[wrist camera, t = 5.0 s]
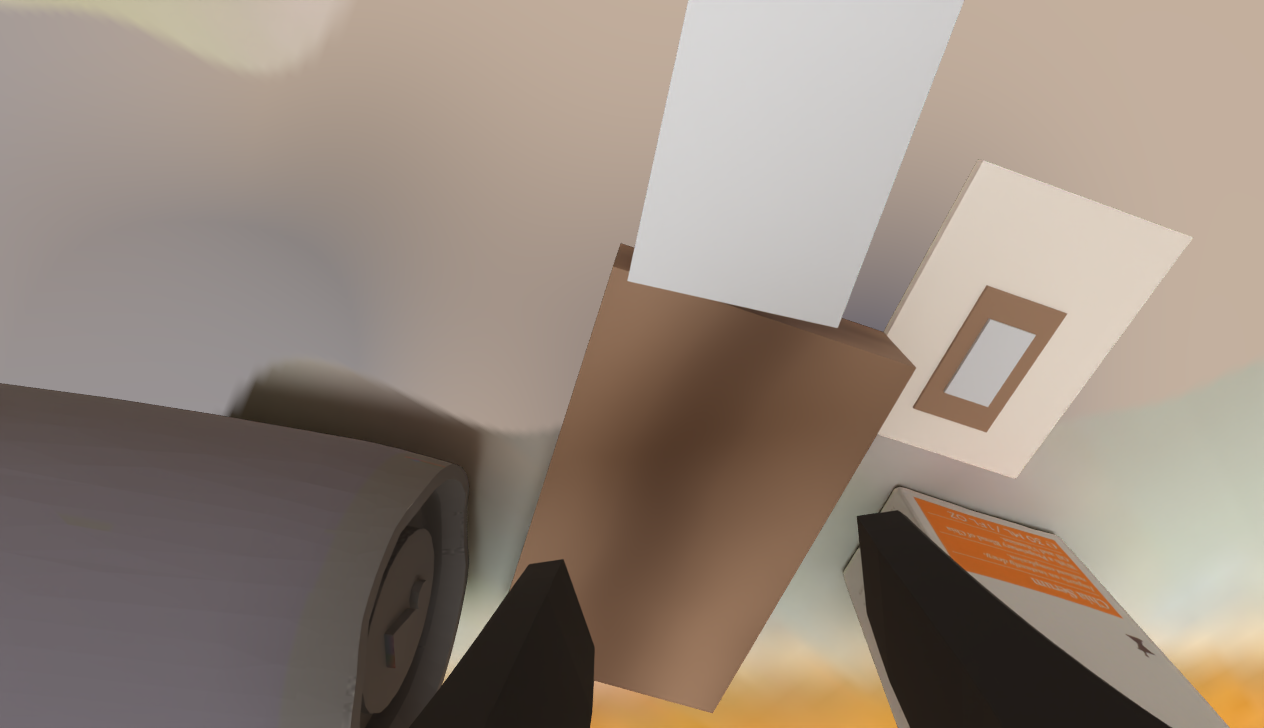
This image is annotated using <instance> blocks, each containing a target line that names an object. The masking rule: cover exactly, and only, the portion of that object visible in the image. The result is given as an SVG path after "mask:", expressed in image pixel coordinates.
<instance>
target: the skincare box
mask: <svg viewBox="0 0 1264 728" xmlns="http://www.w3.org/2000/svg"><path fill="white" fill-rule="evenodd" d="M895 510H898V511H900V512H901V513H903V514H904V515H906V516H907V517H908V518H909V519H910V520H911V521H912V522H913V523H914V524H915V525H916V526H917V527H918V528H919V529H921V530H922V531H923V532H924V533H925V534H926V535H927V536H928V537H929V538H930V539H931V540H932V541H933V542H934V543H936V544H937V545H938V546H939V547H940V548H941V549H942V550H943V551H944V552H945V553H946V554H948V555H949V556H950V557H951V558H952V559H953V560H954V561H955V562H957V563H958V564H959V565H960V566H961V567H962V568H963V569H965V570H966V571H967V572H968V573H969V574H970V575H971V576H973V577H974V578H975V579H976V580H977V581H978V582H980V583H981V584H982V585H983V586H984V587H985V588H987V589H988V590H989V591H990V592H991V593H993V594H994V595H995V596H996V597H997V598H999V599H1000V600H1001V601H1002V602H1004V603H1005V604H1006V605H1007V606H1008V607H1010V608H1011V609H1012V610H1013V611H1014V612H1016V613H1017V614H1018V615H1019V616H1021V617H1022V618H1023V619H1024V620H1025V621H1027V622H1028V623H1029V624H1030V625H1032V626H1033V627H1034V628H1035V629H1037V630H1038V631H1039V632H1041V633H1042V634H1043V635H1044V636H1046V637H1047V638H1048V639H1049V640H1051V641H1052V642H1053V643H1055V644H1056V645H1057V646H1059V647H1060V648H1061V649H1063V650H1064V651H1065V652H1067V653H1068V654H1069V655H1071V656H1072V657H1073V658H1075V659H1076V660H1077V661H1079V662H1080V663H1081V664H1083V665H1084V666H1085V667H1087V668H1088V669H1089V670H1090V671H1092V672H1093V673H1095V674H1096V675H1097V676H1099V677H1100V678H1101V679H1103V680H1104V681H1106V682H1107V683H1108V684H1110V685H1111V686H1113V687H1114V688H1115V689H1117V690H1118V691H1119V692H1121V693H1122V694H1124V695H1125V696H1127V697H1128V698H1129V699H1131V700H1132V701H1134V702H1135V703H1136V704H1138V705H1139V706H1141V707H1142V708H1144V709H1145V710H1147V711H1148V712H1150V713H1151V714H1152V715H1154V716H1155V717H1157V718H1158V719H1160V720H1161V721H1163V722H1164V723H1166V724H1167V725H1169V726H1170V727H1172V728H1230V727H1229V726H1228V725H1227V724H1226V723H1225V722H1224V721H1223V720H1222V719H1221V717H1220V716H1219V715H1218V714H1217V713H1216V712H1215V710H1214V709H1213V708H1212V707H1211V706H1210V705H1209V704H1208V702H1207V701H1206V700H1205V699H1204V698H1203V697H1202V696H1201V695H1200V694H1199V692H1198V691H1197V690H1196V689H1195V688H1194V687H1193V686H1192V685H1191V683H1190V682H1189V681H1188V680H1187V679H1186V678H1185V677H1184V676H1183V674H1182V673H1181V672H1180V671H1179V670H1178V669H1177V668H1176V667H1175V666H1174V665H1173V664H1172V662H1171V661H1170V660H1169V659H1168V658H1167V657H1166V656H1165V655H1164V653H1163V652H1162V651H1161V650H1160V649H1159V648H1158V647H1157V646H1156V645H1155V643H1154V642H1153V641H1152V640H1151V639H1150V638H1149V637H1148V636H1147V635H1146V633H1145V632H1144V631H1143V630H1142V629H1141V628H1140V627H1139V626H1138V624H1137V623H1136V622H1135V621H1134V620H1133V619H1132V618H1131V617H1130V615H1129V614H1128V613H1127V612H1126V611H1125V610H1124V609H1123V608H1122V607H1121V605H1120V604H1119V603H1118V602H1117V601H1116V600H1115V599H1114V597H1113V596H1112V595H1111V594H1110V593H1109V592H1108V591H1107V590H1106V588H1105V587H1104V586H1103V585H1102V584H1101V583H1100V582H1099V581H1098V580H1097V578H1096V577H1095V576H1094V575H1093V574H1092V573H1091V571H1090V570H1089V569H1088V568H1087V567H1086V566H1085V565H1084V564H1083V562H1082V561H1081V560H1080V559H1079V558H1078V557H1077V556H1076V555H1075V554H1074V553H1073V551H1072V550H1071V549H1070V548H1069V547H1068V546H1067V545H1066V544H1065V542H1064V541H1063V540H1062V539H1061V538H1060V537H1059V536H1057V535H1054V534H1050V533H1046V532H1042V531H1038V530H1034V529H1031V528H1028V527H1025V526H1022V525H1019V524H1016V523H1012V522H1009V521H1006V520H1002V519H999V518H995V517H992V516H989V515H985V514H982V513H979V512H975V511H972V510H969V509H966V508H963V507H960V506H958V505H955V504H951V503H948V502H945V501H943V500H940V499H936V498H933V497H930V496H927V495H924V494H921V493H918V492H915V491H912V490H910V489H907V488H903V487H898V488H895V489H894V490H893V492H892V493H891V495H890V497H889V499H888V500H887V502H886V504H885V505H884V507H883V509H882V510H881V512H880V513H882V512H888V511H895ZM843 576H844V580H845V583H846V586H847V589H848V592H849V594H850V597H851V600H852V603H853V605H854V608H855V611H856V614H857V616H858V619H859V622H860V625H861V627H862V630H863V633H864V636H865V639H866V641H867V644H868V647H869V650H870V652H871V655H872V658H873V661H874V664H875V666H876V669H877V672H878V674H879V677H880V680H881V683H882V686H883V688H884V691H885V694H886V697H887V699H888V702H889V705H890V708H891V710H892V713H893V716H894V718H895V721H896V724H897V727H898V728H910V727H909V724H908V722H907V720H906V718H905V715H904V713H903V711H902V709H901V707H900V704H899V702H898V700H897V698H896V695H895V693H894V691H893V688H892V686H891V684H890V682H889V679H888V676H887V673H886V670H885V667H884V664H883V662H882V659H881V656H880V653H879V650H878V647H877V644H876V641H875V638H874V634H873V631H872V628H871V625H870V622H869V619H868V616H867V612H866V602H865V592H864V582H863V572H862V562H861V552H860V546H859V548H858V549H857V551H856V552H855V554H854V556H853V557H852V559H851V561H850V562H849V564H848V565H847V567H846V569H845V570H844V573H843Z"/></svg>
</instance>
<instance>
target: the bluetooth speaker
mask: <svg viewBox="0 0 1264 728" xmlns="http://www.w3.org/2000/svg"><path fill="white" fill-rule="evenodd" d="M468 494H469V482H468V477H467V474H466V473H465V471H464V469H463V468H462V467H460V466H459V465H456V464H453V463H449V462H446V461H442V460H439V459H435V458H432V457H429V456H425V455H421V454H417V453H413V452H410V451H406V450H403V449H399V448H394V447H390V446H386V445H381V444H377V443H373V442H368V441H363V440H358V439H352V438H346V437H341V436H335V435H329V434H324V433H318V432H312V431H306V430H301V429H295V428H289V427H284V426H278V425H272V424H266V423H261V422H255V421H249V420H244V419H238V418H232V417H226V416H221V415H215V414H209V413H202V412H196V411H190V410H183V409H177V408H171V407H164V406H158V405H151V404H145V403H139V402H132V401H126V400H119V399H113V398H106V397H97V396H91V395H83V394H76V393H68V392H61V391H54V390H46V389H39V388H31V387H24V386H17V385H9V384H2V383H0V728H409V727H410V725H411V724H412V723H413V722H414V720H415V719H416V718H417V717H418V715H419V714H420V713H421V711H422V710H423V709H424V708H425V706H426V705H427V704H428V703H429V701H430V700H431V699H432V697H433V696H434V695H435V694H436V692H437V691H438V690H439V689H440V687H441V686H442V683H443V680H444V676H445V673H446V670H447V666H448V663H449V659H450V656H451V652H452V648H453V644H454V640H455V636H456V632H457V628H458V624H459V620H460V615H461V610H462V605H463V601H464V595H465V589H466V584H467V577H468V566H469V555H468V536H467V505H468Z"/></svg>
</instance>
